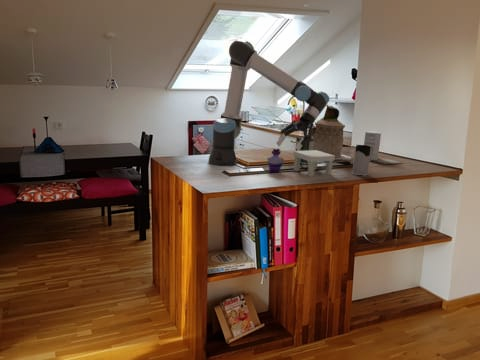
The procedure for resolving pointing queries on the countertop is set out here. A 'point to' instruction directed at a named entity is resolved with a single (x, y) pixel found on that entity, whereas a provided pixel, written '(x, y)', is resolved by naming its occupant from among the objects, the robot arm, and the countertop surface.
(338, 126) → the cookie jar
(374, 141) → the supplement box
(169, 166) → the countertop surface
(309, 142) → the coffee can
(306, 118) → the robot arm
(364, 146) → the glass holder
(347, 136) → the countertop surface
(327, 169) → the footstool
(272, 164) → the potion bottle
